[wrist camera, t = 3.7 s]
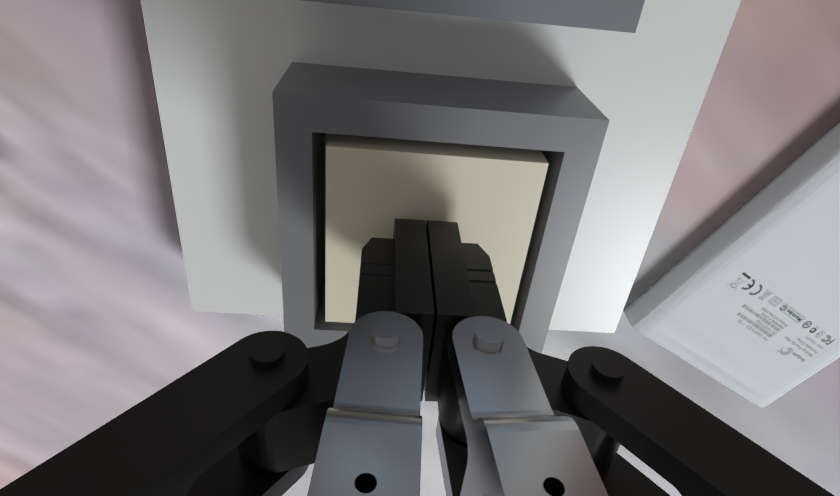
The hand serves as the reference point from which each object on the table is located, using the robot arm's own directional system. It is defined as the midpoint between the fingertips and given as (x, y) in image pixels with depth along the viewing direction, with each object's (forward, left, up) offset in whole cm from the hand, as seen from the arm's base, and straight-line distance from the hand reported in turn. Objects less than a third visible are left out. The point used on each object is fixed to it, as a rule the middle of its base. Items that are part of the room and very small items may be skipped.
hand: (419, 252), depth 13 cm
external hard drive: (-15, +2, -5) cm, 16 cm away
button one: (0, 0, -3) cm, 3 cm away
